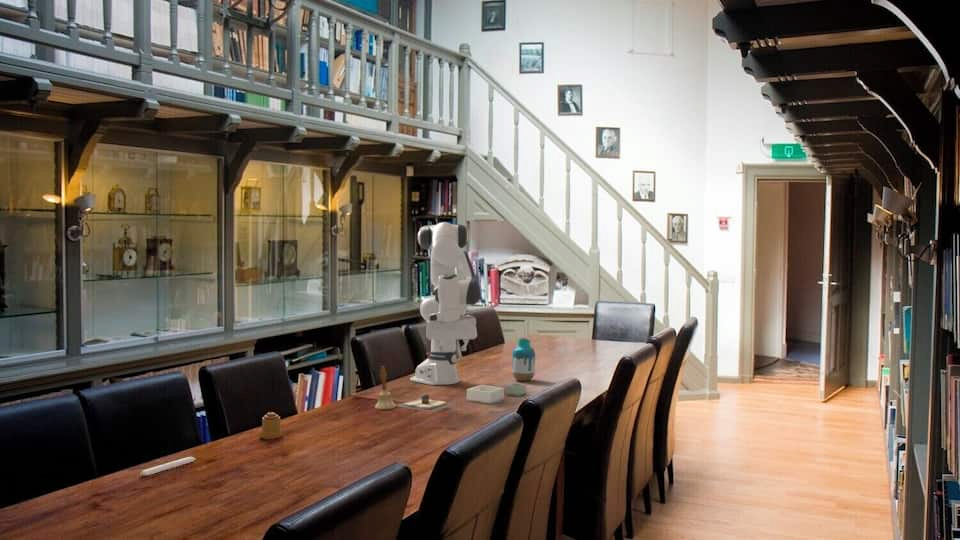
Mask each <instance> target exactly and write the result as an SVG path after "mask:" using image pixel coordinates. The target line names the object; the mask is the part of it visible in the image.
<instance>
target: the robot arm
mask: <svg viewBox="0 0 960 540" xmlns="http://www.w3.org/2000/svg"><path fill="white" fill-rule="evenodd" d="M468 241H469V232H468V229H467V227H466V226H465V225H464V224H458V223H457V224H452V223H450V222H447V221H443V222H439V223H438V224H434V225H428V224H427V225H424V226H421V227H420V228H419V231H418V233H417V242H418V244H419V247H420V248H421V249H424V250H431V251H430V283H431V284H432V286H434V288H433V289H434V296H430V297H428V298H426V299H423V301H422V302H421V303H420V307H419V313H420V315H421V317H422V318H423V319H424V320H425V321H426V326H425V337H426V339H427V340H429V341H430V350H429V351H427V352H425V353H426V354H425V355H428V356H427V358H426V359H425V360H423V361H422V362H421V363H420V364H418V365H417V366H416V368H415V372H414V376H411V377H410V378H409V381H411V382H416V383H420V384H426V385H429V386H437V385H439V386H440V385H444V386H445V385H453V384H457V383H459V382H460V380H459V377H458V371H457V358H458V357H457V353H458V352H457V350H456V349H457V345H456V344H457V342H456V341H457V340H462V341H463V343H464V344H463V345H461V347H460V348H461V349H460V350H461V352H466V351H467V346H468V344H469V341H470V340H475V339H476V338H477V337H478V331H477V318H476V317H475V316H473V314H472V315H471V314H469V315H468V314H467V315H465V314H466V312H467V310H468V305H472V306H475V305H476V304H477V303H478V302H479V301H481V299H482V288H481V285H480V283H479V281H478V279H477V276H476V274H475V270H474V267H473V264H472V261H471V259H470V257H469V253H467V251H465V250H463V248H465V247H466V246H467V244H468ZM456 269H459V270H460V271H462V272H463V275H464V279H463V280H459V276H458V274H456Z"/></svg>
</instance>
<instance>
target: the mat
mask: <svg viewBox="0 0 960 540" xmlns="http://www.w3.org/2000/svg"><path fill="white" fill-rule="evenodd" d="M418 399H419V398H416V399H412V400H409V401H406V402H402V403H398V404H396V407H399V408H400V407H401V408H406V409H411V410H418V411H422V412H423V411H424V412H429V413H434V412H436V411H440V410H444V409H446V408H449V407H452V406H455V405H456V403H451V402H450V403H449V402H447V404H446V405H443V406H439V407H436V408H433V409H430V410H426V409H420V408H414V407H408V406H404V403H408V402H411V401H415V400H418Z"/></svg>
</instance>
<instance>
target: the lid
mask: <svg viewBox="0 0 960 540" xmlns="http://www.w3.org/2000/svg"><path fill="white" fill-rule="evenodd" d="M417 399H418V400H415V399H414V400H415V401H412V400H410V401H411V402H409V401H407V402H408V403H405V402H403V403H404V406H408V407H414V408H420V409H426V410H430V409H433V408H436V407H439V406H443V405H446V404H447V403H448V402H446V401H442V400H435V399H430V394H429V393H422V394H421V398H417Z"/></svg>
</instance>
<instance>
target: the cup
mask: <svg viewBox="0 0 960 540" xmlns="http://www.w3.org/2000/svg"><path fill="white" fill-rule="evenodd" d="M526 385H527V384H524V383H516V382H513V383H509V384H507V385H505V386H506V387H505V390H506V391H505V395H506V396H511V397H522V396H524V395H526V394H527V393H526V392H527V391H526V389H527V388H526Z"/></svg>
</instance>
